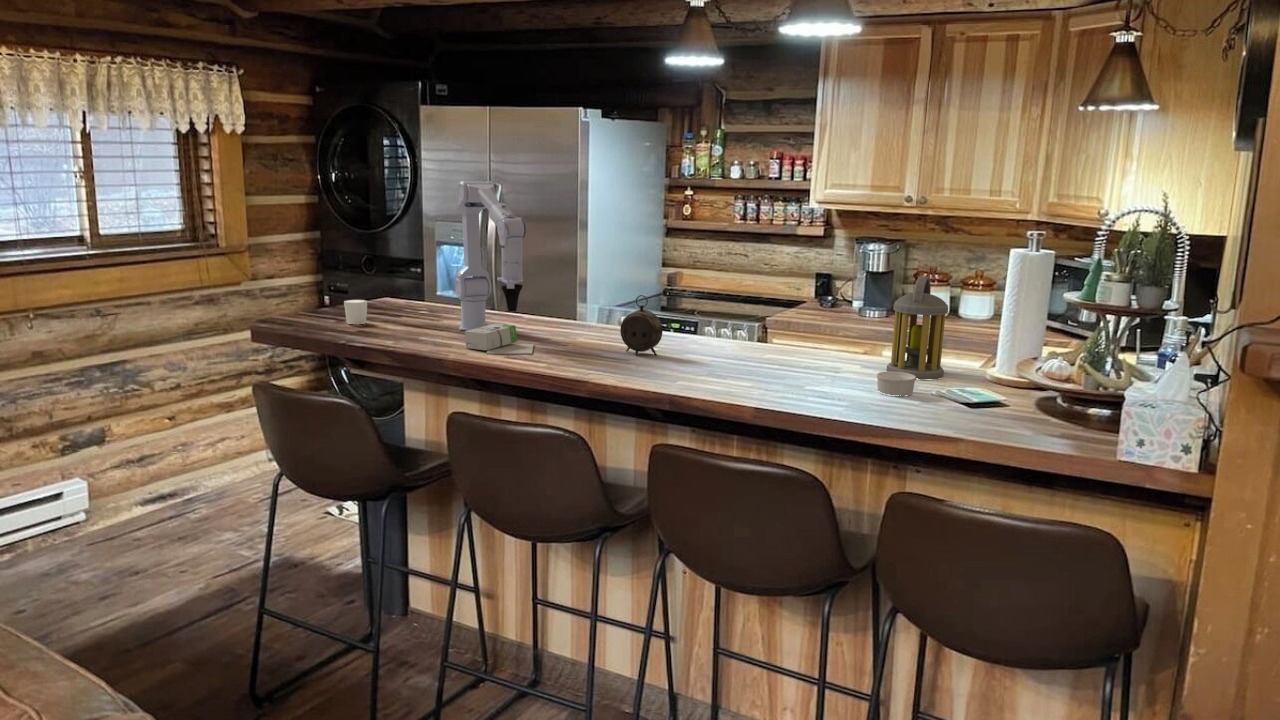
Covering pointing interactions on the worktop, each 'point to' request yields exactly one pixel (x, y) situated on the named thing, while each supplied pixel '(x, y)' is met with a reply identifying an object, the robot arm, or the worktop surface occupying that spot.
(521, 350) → the mat
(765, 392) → the worktop surface
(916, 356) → the lantern
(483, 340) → the ink box
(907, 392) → the ramekin
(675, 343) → the worktop surface
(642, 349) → the alarm clock
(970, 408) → the worktop surface
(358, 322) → the white cup
